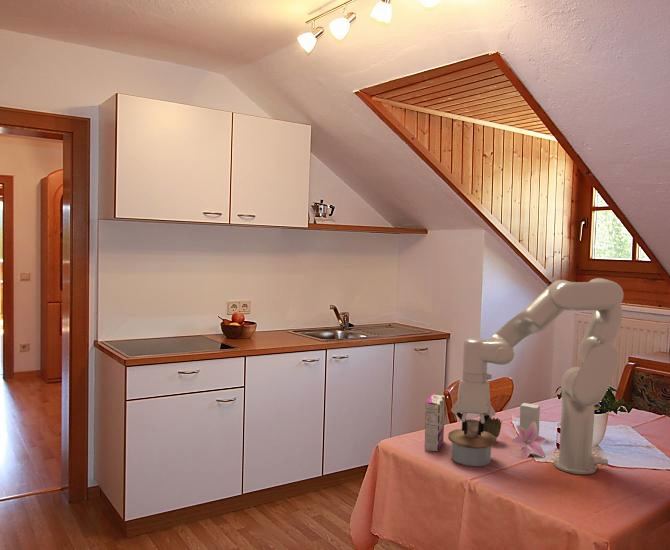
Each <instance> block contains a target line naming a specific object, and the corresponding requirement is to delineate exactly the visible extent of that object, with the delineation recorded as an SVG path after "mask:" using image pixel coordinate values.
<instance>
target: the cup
mask: <svg viewBox="0 0 670 550" xmlns="http://www.w3.org/2000/svg"><path fill="white" fill-rule="evenodd" d="M502 423H503V421H502V420H501V419H499V417H497V418H495V417H490V418H489V419H488V420H487V421H485V423H484V425H483V431H485V432H488V433H491V434H493V435H494V436H495V437H496V439H497V438H498V437H499V436H500V434H501V428H502Z"/></svg>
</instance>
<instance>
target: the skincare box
mask: <svg viewBox="0 0 670 550" xmlns="http://www.w3.org/2000/svg"><path fill="white" fill-rule="evenodd" d="M519 410H520V411H519V426H520V427H522V428H524V429H525V430H526V429H527V428H528V427H529V426H530V425H531V424H532V423H533V422H535V423H536V426H537V432H538V434H537V436H540V435H539V434H540V413H541V412H540V411H541V405H539V404H533V403H527V402H523V403H522V404H520V406H519Z"/></svg>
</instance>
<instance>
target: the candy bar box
mask: <svg viewBox="0 0 670 550" xmlns="http://www.w3.org/2000/svg"><path fill="white" fill-rule="evenodd" d="M445 399H446V397H445V395H440V394H431V395H430V396H429V397H428V399H427V400H426V402H425V414H424V415H425V418H424V419H425V422H424V423H425V425H424V451H427V450H429V452H435V451H437V452H436V453H439V451H440V449H441V447H442V445H443V443H444V440H445V439H444V438H445V437H444V434H445V433H444V431H445V402H446V401H445Z"/></svg>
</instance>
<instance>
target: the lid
mask: <svg viewBox="0 0 670 550" xmlns="http://www.w3.org/2000/svg"><path fill="white" fill-rule="evenodd" d="M479 421H480V420H478V419H473V418H469V419H466V422H467V430H466V434H464V431H462V428H458V429H454V430H451V431H449V432H448V434H447V435H448V436H447V438H448V440H449V441H450V442H451V443H452V442H453V443H455V444H457V445H461V446H465V447H472V448H485V447H491V448H492V447H493V446H495V445H496V444H497V438H496V437H495V436H494V435H493V434H491V433H488V432H485V431H483V432H481V436H479Z"/></svg>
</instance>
